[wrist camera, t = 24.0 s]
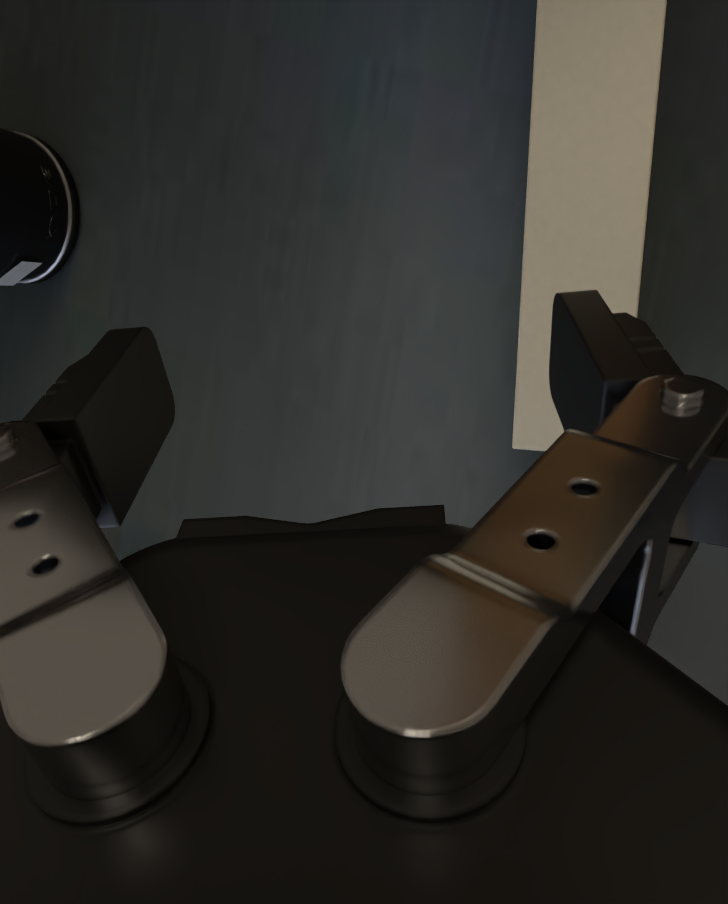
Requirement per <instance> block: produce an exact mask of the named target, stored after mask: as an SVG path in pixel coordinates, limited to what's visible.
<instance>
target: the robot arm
mask: <svg viewBox="0 0 728 904" xmlns="http://www.w3.org/2000/svg"><path fill="white" fill-rule="evenodd" d="M77 227H78V204H77V197H76V192H75V188H74V184H73V182H72V179H71V176H70V174H69V172H68V170H67V168H66V166H65V164H64V162H63V161H62V159H61V158H60V157H59V155H58V154H57V153H56V152H55V151H54V150H53V149H52V148H51V147H50V146H49V145H48V144H47V143H45V142H44V141H42V140H41V139H39V138H37V137H34V136H31V135H28V134H25V133H21V132H17V131H8V130H5V129H1V128H0V285H4V286H13V285H14V284H16V283H29V284H31V283H38V282H42V281H44V280H47V279H48V278H50V277H52V276H53V275H55V274H56V273H57V272H58V271H59V270H60V269H61V268H62V266H63V265H64V264H65V262H66V261H67V259H68V257H69V255H70V253H71V251H72V248H73V246H74V242H75V239H76V234H77ZM549 384H550V392H551V397H552V400H553V403H554V405H555V408H556V410H557V413H558V416H559V418H560V421H561V424H562V426H563V429H564V432H563V433H562V434H561V435H560V436H559V438H558V439H557V440H556V441H555V442H554V443H553V444H552V445H551V446H550V447H549V448H548V449H547V450H546V451H545V452H544V453H543V454H542V455H541V456H540V458H539V459H538V460H537V461H536V462H535V463H534V464H533V465H532V466H531V467H530V468H529V469H528V470H527V471H526V472H525V473H524V474H523V475H522V476H521V477H520V479H519V480H518V481H517V482H516V483H515V484H514V485H513V486H512V487H511V488H510V489H509V490H508V491H507V492H506V493H505V494H504V495H503V496H502V497H501V499H500V500H499V501H498V502H497V503H496V504H495V505H494V506H493V507H492V508H491V509H490V510H489V511H488V512H487V513H486V514H485V515H484V516H483V517H482V518H481V520H480V521H479V522H478V523H477V524H476V525H475V526H474V527H473V528H468V527H463V526H459V525H453V524H446V523H445V512H444V505H433V506H415V507H397V508H379V509H374V510H370V511H365V512H361V513H356V514H352V515H348V516H343V517H339V518H334V519H330V520H326V521H321V522H317V523H309V524H305V523H296V522H288V521H281V520H273V519H265V518H258V517H250V516H236V517H218V518H200V519H184V520H183V522H182V525H181V527H180V530H179V532H178V535H177V537H176V538H175V539H171V540H167V541H164V542H161V543H158V544H155V545H152V546H150V547H147V548H145V549H142V550H140V551H138V552H136V553H134V554H132V555H130V556H128V557H126V558H124V559H122V560H121V561H119V560H118V558H117V556H116V554H115V553H114V551H113V549H112V547H111V546H110V544H109V542H108V540H107V539H106V537H105V535H104V533H103V532H102V530H101V528H105V527H120V526H121V524H122V522H123V520H124V518H125V516H126V514H127V512H128V510H129V508H130V506H131V504H132V502H133V501H134V499H135V497H136V495H137V493H138V491H139V489H140V487H141V485H142V483H143V481H144V479H145V477H146V475H147V473H148V471H149V469H150V467H151V466H152V464H153V462H154V460H155V458H156V456H157V454H158V452H159V450H160V448H161V446H162V444H163V442H164V440H165V438H166V436H167V434H168V432H169V431H170V429H171V427H172V425H173V422H174V417H175V404H174V398H173V394H172V390H171V387H170V384H169V381H168V378H167V374H166V371H165V368H164V365H163V362H162V358H161V355H160V352H159V349H158V346H157V342H156V339H155V337H154V335H153V333H152V331H151V330H150V329H149V328H147V327H137V328H126V329H114V330H109V331H108V332H107V333H106V334H105V335H104V336H103V338H102V339H101V340H100V341H99V342H98V343H97V345H96V346H95V347H94V348H93V349H92V351H91V352H90V353H89V354H88V355H87V356H85V357H84V358H82V359H81V360H79V361H77V362H76V363H74V364H73V365H71V366H70V367H68V368H67V369H66V370H65V371H64V372H63V373H62V375H61V376H60V377H59V378H58V379H57V380H56V384H53V385H52V386H51V387H50V388H49V390H48V391H47V392H46V395H43V397H42V398H41V399H40V400H39V401H38V402H37V403H36V405H35V406H34V407H33V408H32V409H31V410H30V412H29V413H28V414H27V415H26V416H25V417H24V418H23V420H22V421H11V422H5V423H1V424H0V904H728V706H727V705H726V704H725V703H723V702H722V701H721V700H719V699H718V698H716V697H715V696H714V695H712V694H711V693H710V692H708V691H707V690H706V689H704V688H703V687H702V686H700V685H699V684H698V683H696V682H695V681H694V680H692V679H691V678H690V677H688V676H687V675H686V674H684V673H683V672H682V671H680V670H679V669H678V668H676V667H675V666H674V665H672V664H671V663H669V662H668V661H667V660H665V659H664V658H663V657H661V656H660V655H659V654H657V653H656V652H655V651H653V650H652V649H651V648H649V647H648V646H647V643H648V640H649V637H650V634H651V631H652V629H653V626H654V624H655V622H656V620H657V618H658V616H659V614H660V612H661V611H662V609H663V607H664V605H665V604H666V602H667V600H668V598H669V597H670V595H671V593H672V591H673V590H674V588H675V586H676V584H677V583H678V581H679V579H680V578H681V576H682V574H683V572H684V571H685V569H686V567H687V565H688V564H689V562H690V560H691V558H692V557H693V555H694V553H695V551H696V550H697V547H698V545H699V542H701V543H707V544H713V545H719V546H725V547H728V391H727V390H726V389H725V388H724V387H722V386H721V385H719V384H717V383H715V382H713V381H710V380H708V379H705V378H701V377H697V376H692V375H685V374H683V372H682V371H681V370H680V368H679V367H678V366H677V364H676V363H675V362H674V360H673V359H672V358H671V356H670V355H669V354H668V352H667V351H666V350H664V349H663V345H662V344H661V343H660V341H659V340H658V339H655V335H654V333H653V332H652V331H651V329H650V328H649V327H648V325H647V324H646V323H645V322H643V321H641V320H639V319H637V318H636V317H634V316H632V315H630V314H628V313H626V312H624V313H612V312H611V310H610V309H609V307H608V306H607V304H606V303H605V301H604V300H603V298H602V297H601V295H600V294H599V292H598V291H597V290H585V291H573V292H561V293H556V294H555V296H554V301H553V309H552V325H551V342H550V359H549Z"/></svg>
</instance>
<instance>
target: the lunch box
mask: <svg viewBox="0 0 728 904" xmlns="http://www.w3.org/2000/svg"><path fill="white" fill-rule="evenodd" d="M666 5H667V0H537V13H536V31H535V49H534V67H533V84H532V102H531V120H530V138H529V156H528V174H527V192H526V210H525V227H524V245H523V263H522V281H521V299H520V317H519V335H518V353H517V371H516V388H515V406H514V424H513V442H512V447H513V448H514V449H524V450H536V451H546V450H547V449H548V448H549V447H550V446H551V445H552V444H553V443H554V442H555V441H556V440H557V439H558V438H559V436H560V435H561V434H562V433H563V432H564V429H563V426H562V424H561V421H560V418H559V416H558V413H557V410H556V408H555V405H554V403H553V400H552V397H551V392H550V384H549V359H550V342H551V325H552V309H553V301H554V296H555V294H556V293H561V292H573V291H585V290H597V291H598V292H599V294H600V295H601V297H602V298H603V300H604V301H605V303H606V304H607V306H608V307H609V309H610V310H611V312H612V313H624V312H626V313H628V314H630V315H632V316H634V317H636V318H637V314H638V303H639V293H640V282H641V271H642V261H643V250H644V239H645V229H646V218H647V207H648V197H649V186H650V175H651V165H652V154H653V143H654V133H655V122H656V111H657V101H658V90H659V79H660V69H661V58H662V47H663V37H664V26H665V15H666Z"/></svg>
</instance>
